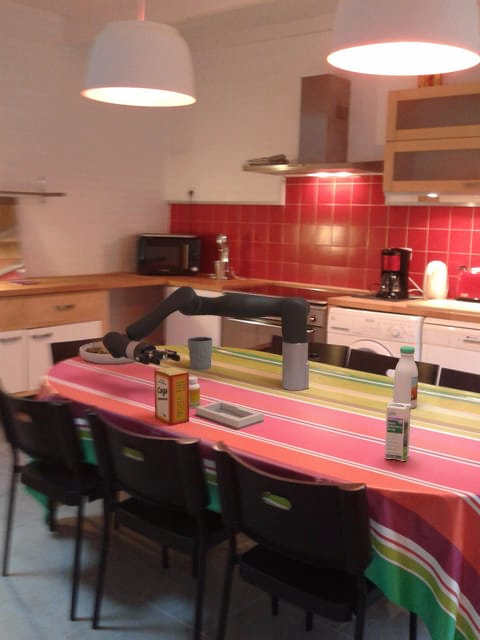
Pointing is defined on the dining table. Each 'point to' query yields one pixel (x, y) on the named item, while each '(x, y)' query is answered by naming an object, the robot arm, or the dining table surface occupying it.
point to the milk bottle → (406, 378)
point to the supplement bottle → (194, 392)
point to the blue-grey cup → (200, 352)
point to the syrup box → (397, 431)
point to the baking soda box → (171, 395)
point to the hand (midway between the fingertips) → (169, 360)
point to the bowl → (100, 354)
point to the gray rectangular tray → (229, 414)
